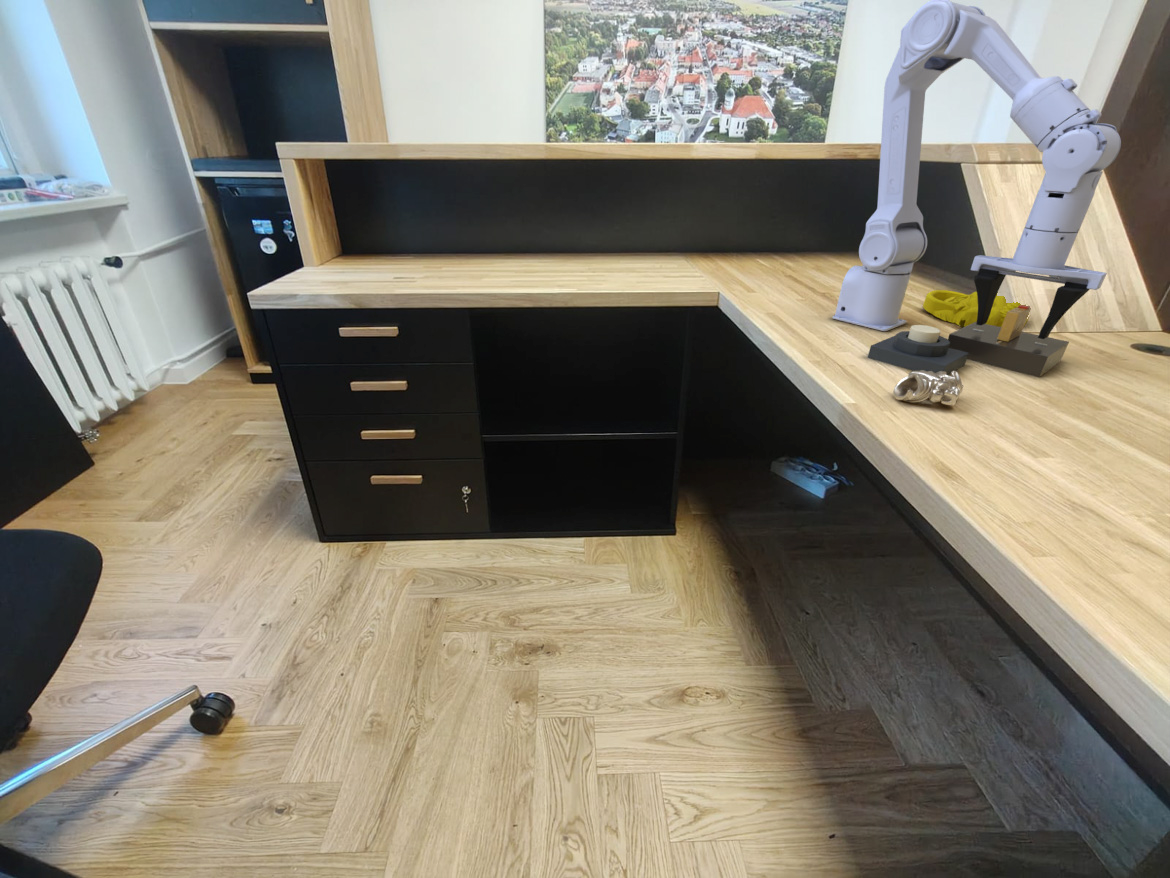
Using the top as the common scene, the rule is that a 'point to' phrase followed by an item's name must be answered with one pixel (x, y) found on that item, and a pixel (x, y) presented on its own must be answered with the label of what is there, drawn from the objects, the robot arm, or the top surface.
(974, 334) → the plate
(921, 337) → the bell button
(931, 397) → the ornament
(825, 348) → the top surface
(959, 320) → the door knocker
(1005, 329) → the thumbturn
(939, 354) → the doorbell
